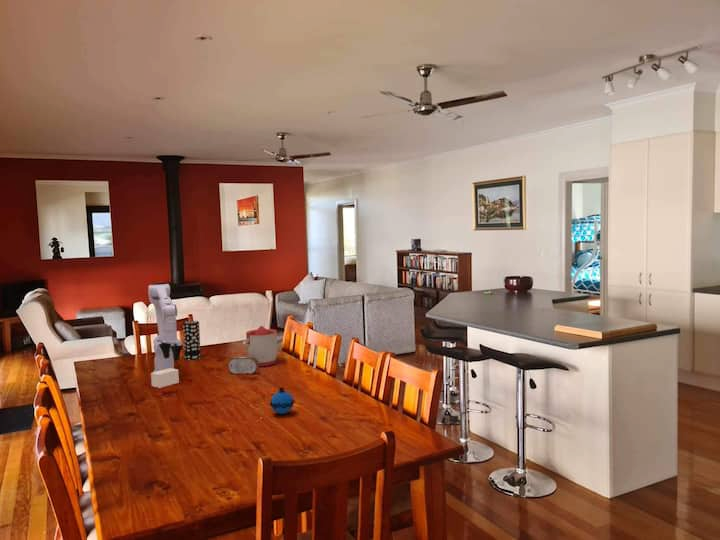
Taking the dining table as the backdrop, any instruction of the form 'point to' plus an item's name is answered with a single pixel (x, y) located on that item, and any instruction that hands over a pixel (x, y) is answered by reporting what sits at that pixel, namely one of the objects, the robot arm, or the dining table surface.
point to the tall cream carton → (165, 377)
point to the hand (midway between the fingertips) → (171, 359)
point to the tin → (243, 365)
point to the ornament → (282, 402)
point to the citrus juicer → (262, 345)
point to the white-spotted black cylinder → (191, 340)
